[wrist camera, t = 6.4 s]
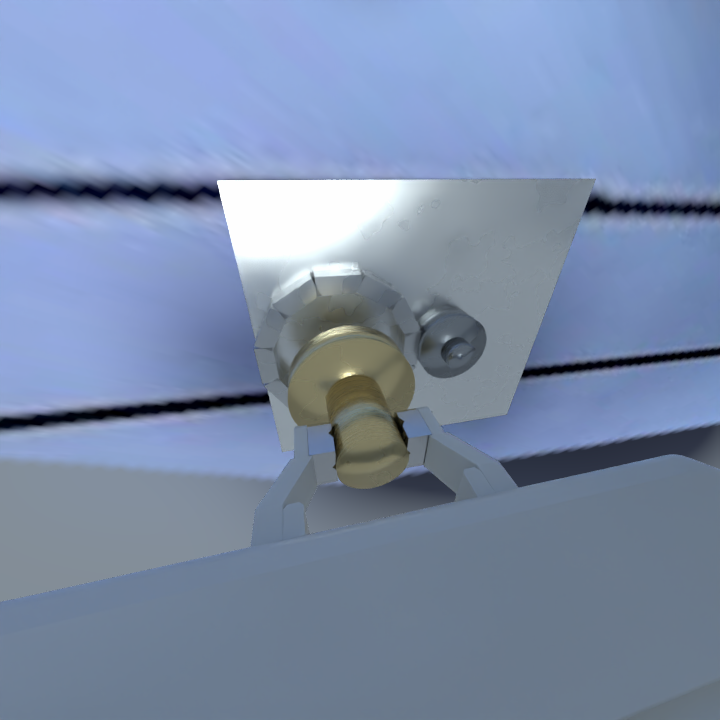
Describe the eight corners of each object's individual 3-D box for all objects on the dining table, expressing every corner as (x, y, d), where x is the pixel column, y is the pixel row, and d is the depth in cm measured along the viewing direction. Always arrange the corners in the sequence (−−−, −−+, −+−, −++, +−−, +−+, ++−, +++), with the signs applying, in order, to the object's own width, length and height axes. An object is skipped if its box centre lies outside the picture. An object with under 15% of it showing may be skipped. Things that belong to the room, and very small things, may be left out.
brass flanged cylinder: (406, 317, 14) (464, 383, 9) (403, 411, 17) (443, 494, 13) (275, 336, 13) (265, 421, 8) (300, 431, 16) (302, 529, 12)
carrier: (577, 179, 16) (658, 177, 13) (498, 405, 26) (531, 441, 22) (223, 181, 13) (195, 179, 9) (282, 440, 23) (280, 488, 19)
